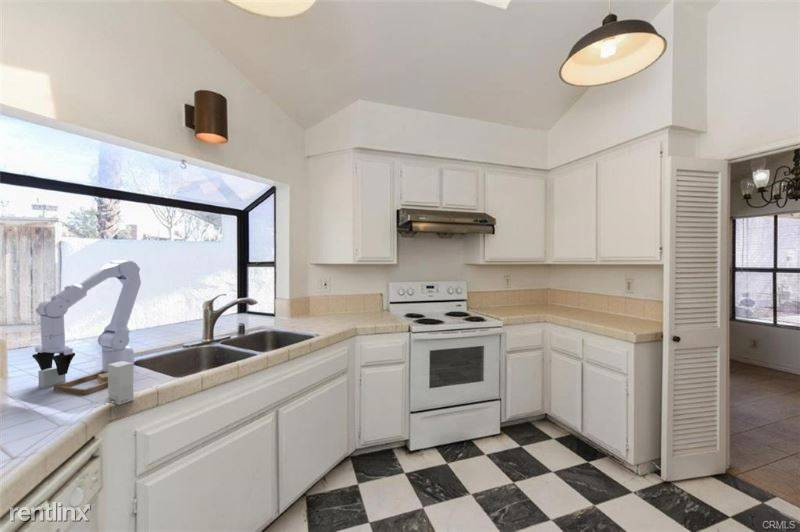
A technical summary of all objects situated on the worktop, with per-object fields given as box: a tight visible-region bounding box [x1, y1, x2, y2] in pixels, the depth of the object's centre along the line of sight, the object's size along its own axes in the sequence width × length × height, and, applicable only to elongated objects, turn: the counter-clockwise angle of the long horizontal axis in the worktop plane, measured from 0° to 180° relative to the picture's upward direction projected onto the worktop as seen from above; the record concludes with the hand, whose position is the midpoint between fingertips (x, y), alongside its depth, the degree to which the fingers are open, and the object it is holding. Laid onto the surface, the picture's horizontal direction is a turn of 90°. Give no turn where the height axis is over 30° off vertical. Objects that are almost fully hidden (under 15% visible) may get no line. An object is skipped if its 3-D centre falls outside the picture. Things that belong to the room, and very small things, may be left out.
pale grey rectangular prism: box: [37, 366, 67, 389], centre depth 117 cm, size 6×2×7 cm, turn 166°
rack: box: [52, 370, 108, 396], centre depth 118 cm, size 15×14×3 cm
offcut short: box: [97, 373, 108, 384], centre depth 121 cm, size 3×5×2 cm, turn 55°
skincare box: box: [107, 361, 135, 406], centre depth 108 cm, size 6×4×12 cm
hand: (54, 373), depth 118 cm, fingers open, 7 cm apart
